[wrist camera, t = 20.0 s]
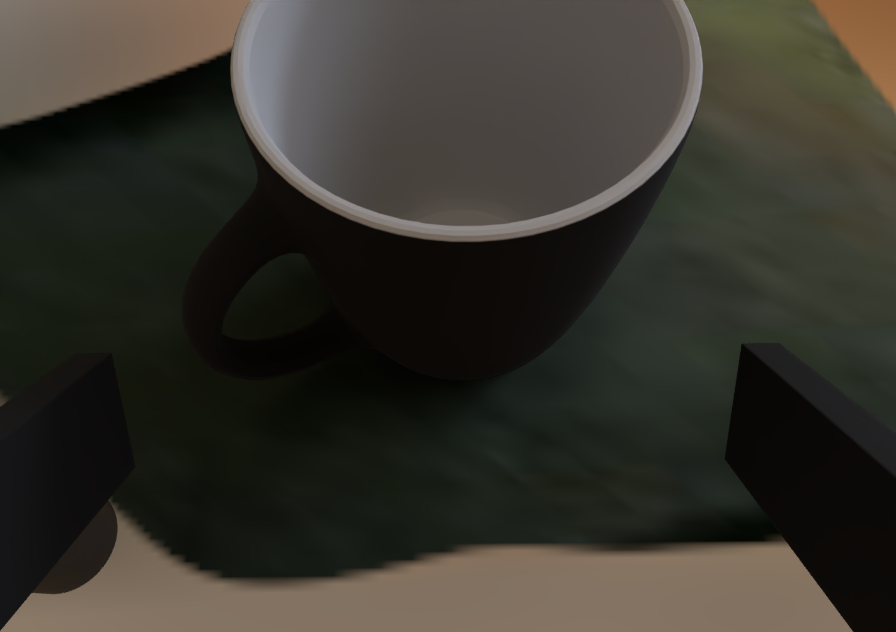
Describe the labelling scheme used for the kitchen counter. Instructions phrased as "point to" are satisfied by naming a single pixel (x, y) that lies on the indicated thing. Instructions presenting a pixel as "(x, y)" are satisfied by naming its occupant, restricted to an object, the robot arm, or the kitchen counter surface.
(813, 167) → the kitchen counter surface
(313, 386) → the kitchen counter surface
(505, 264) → the mug
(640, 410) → the kitchen counter surface
